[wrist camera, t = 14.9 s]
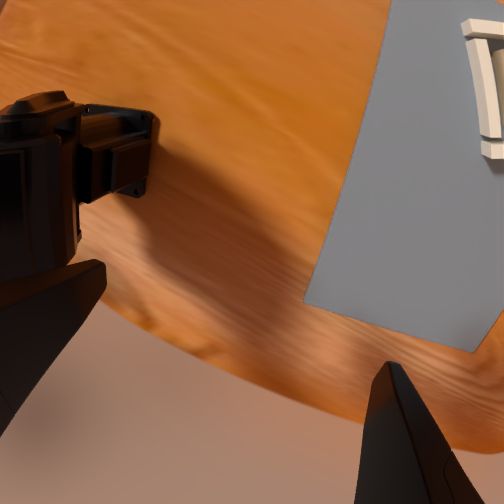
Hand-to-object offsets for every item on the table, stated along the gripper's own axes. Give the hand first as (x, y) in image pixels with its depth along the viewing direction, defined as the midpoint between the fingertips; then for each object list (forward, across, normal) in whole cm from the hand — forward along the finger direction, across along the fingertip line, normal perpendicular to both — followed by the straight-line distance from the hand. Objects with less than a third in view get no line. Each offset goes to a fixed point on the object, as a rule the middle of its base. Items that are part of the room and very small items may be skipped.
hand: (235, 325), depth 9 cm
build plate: (+13, -10, -5) cm, 17 cm away
